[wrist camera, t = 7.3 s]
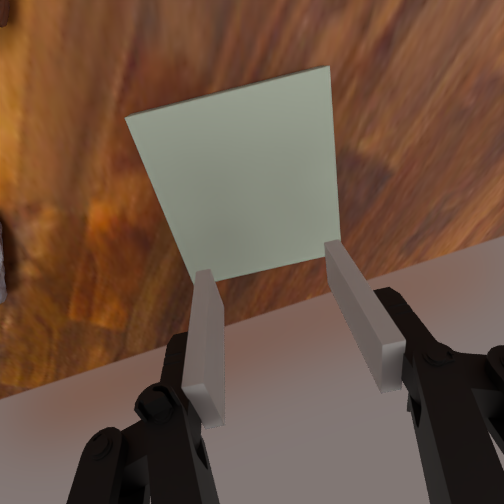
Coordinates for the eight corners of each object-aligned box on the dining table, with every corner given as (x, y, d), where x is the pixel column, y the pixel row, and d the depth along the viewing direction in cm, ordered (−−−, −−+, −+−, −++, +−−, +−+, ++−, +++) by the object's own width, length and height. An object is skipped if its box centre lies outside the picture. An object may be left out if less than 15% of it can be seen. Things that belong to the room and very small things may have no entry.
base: (195, 274, 32) (194, 286, 30) (131, 113, 23) (124, 117, 22) (334, 242, 31) (341, 252, 30) (321, 65, 23) (329, 65, 21)
